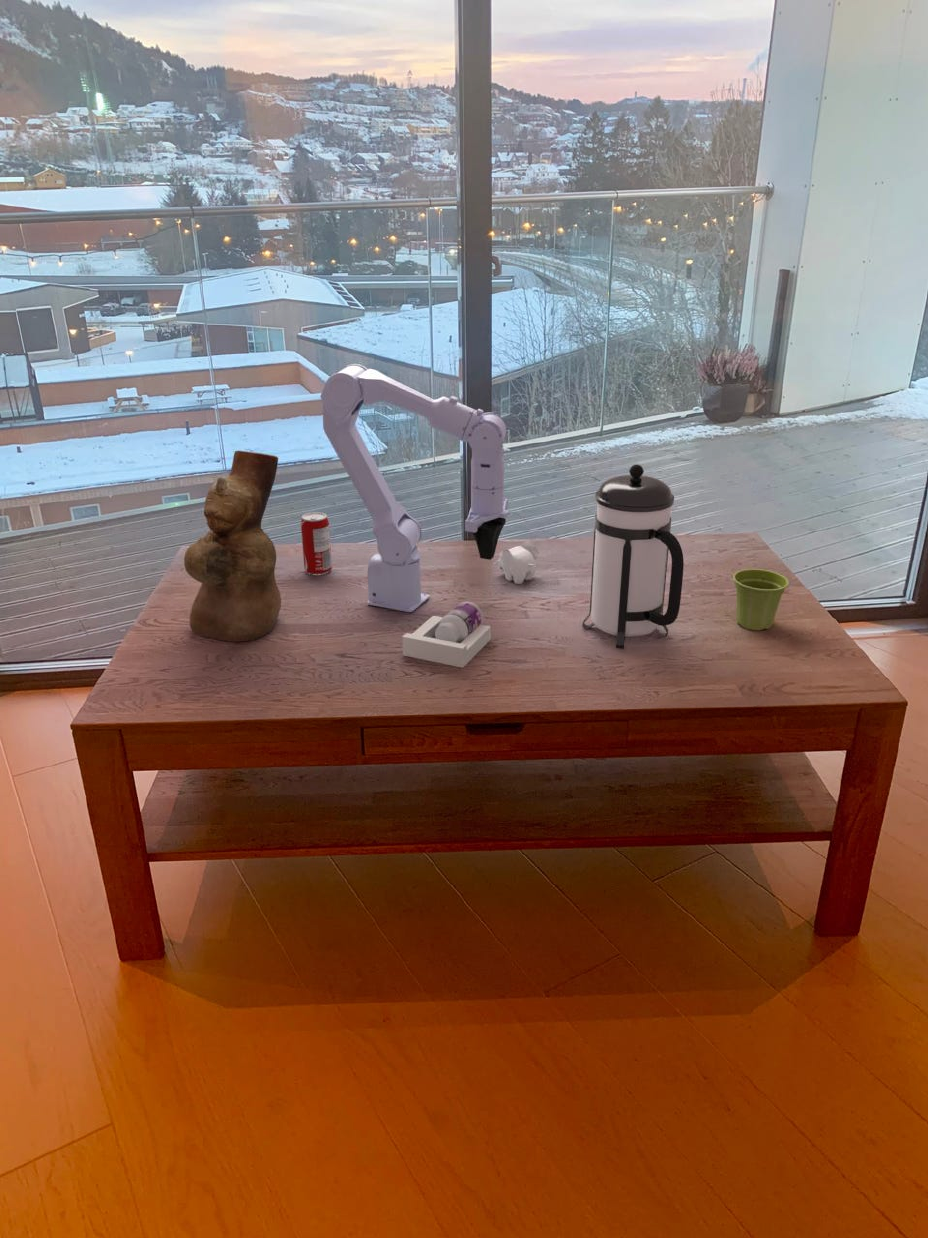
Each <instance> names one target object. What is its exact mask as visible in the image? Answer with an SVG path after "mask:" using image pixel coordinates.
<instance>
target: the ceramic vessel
mask: <svg viewBox="0 0 928 1238" xmlns="http://www.w3.org/2000/svg"><path fill="white" fill-rule="evenodd" d="M278 465H279V457H278V456H277V455H274V454H267V453H263V452H262V453H261V452H254V451H246V450H235V451H234V453H233V457H232V465H231V468H230V472H229V474H228V476H227V477H222V476H219V477H218V478H217V480H216V482H214V483H213V484H212V485H211V486H210V487H209V490H208V492H207V495H206V497H205V500H204V507H203V508H204V509H203V515H204V517H205V518H206V525H207V526H208V528H209V530H208V532H207V533H206V535H205V536H202V537H201V538H199V539H197V540H196V541H195V542H193V543H192V544H190V545H189V546H188V548H187V549H186V551H185V554H184V558H183V561H184V562H183V563H184V568H185V571H186V573H187V574H188V575H189V576H190V577H191V578H192V579H194V580H195V581H197V582H200V583H201V585H200V587H199V589H198V591H197V594H196V596H195V598H194V601H193V603H192V606H191V610H190V614H189V628H190V630H191V631H192V632H193V633H194V634H198V635H200V636H203V637H206V638H209V639H214V640H218V641H225V642H233V643H235V642H249V641H254V640H255V641H256V640H258V639H260V638H263V637H265V636H267V635H268V634H269V633H271V631H272V630H273V629H274V627H275V625H276V622H277V619H278V617H279V614H280V611H281V608H282V597H281V593H280V590H279V587H278V585H277V579H276V575H275V569H276V566H277V550H276V548H275V544H274V542H273V541H272V540H271V538H270V537H269V536H268V534H266V532H264V530H263V529H262V520H263V516H264V513H265V511H266V508H267V504H268V501H269V499H270V496H271V492H272V490H273V486H274V483H275V479H276V476H277V475H276V474H277V470H278Z"/></svg>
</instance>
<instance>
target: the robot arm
mask: <svg viewBox="0 0 928 1238" xmlns="http://www.w3.org/2000/svg"><path fill="white" fill-rule="evenodd" d="M322 388H323V389H322V391H321V394H320V398H321V402H322V429H323V430H324V434H325V435H326V438H328V441H329V443H330V444H331V446H332V448H333V449H334V451H335V454H336V455H337V457H338V458H339V461H340V462H341V464H342V466H343V468H344V470H345V472H346V473H347V475H348V477H349V479H350V480H351V482H352V485H353V486H354V488H355V490H356V491H357V493H358V495H359V497H360V498H361V500H362V502H363V503H364V506H365V507H366V510H367V511H368V513H369V514H370V517H371V520H372V533H373V535H374V537H375V539H376V542H377V545H376V546H377V551H378V552H377V553H375V554H374V555H372V557H371V559H369V560H370V561H369V562H368V565H367V585H368V587H367V588H368V589H367V590H368V601H367V602H366V604H367V605H369V606H374V607H375V606H376V607H379V608H385V609H390V610H396V611H401V612H405V613H406V612H407V613H412V612H414V611H415V610H416V609H417V608H419V607H420V606H421V605H423V604H424V603H425V602H426V601H427V600H429V598H430V597H431V595H430V594H427V593H422V584H421V583H422V582H421V576H422V575H421V553H420V552H419V549H418V548H417V544H419V543H420V541H421V540H422V536H423V535H422V533H423V532H422V527H421V525H420V522H418V521H417V519H415V518H414V517H412V516H411V515H410V514H409V513H408V511H407V509H406V508H405V506H403V505H401V504H400V503H398V502H397V500H396V499H395V496H394V495H393V492H392V491H391V490H390V487H389V485H388V483H387V482H386V479H385V478H384V476H383V475H382V472H381V471H380V469H379V467H378V466H377V463H376V462H375V461H376V460H375V459H374V458H373V456H372V454H371V452H370V450H369V449H368V447H367V444H366V443H365V441H364V440H363V437H362V435H361V434H360V432H359V430H358V428H357V425H356V422H357V420H358V416H359V414H360V412H361V411H360V410H361V408H362V406H367V405H372V404H376V403H381V402H382V403H383V402H385V403H388V404H390V405H391V406H395V407H398V408H400V409H402V410H405V411H408V412H410V413H413V414H416V415H419V416H421V417H424V418H426V420H427V421H428V423H429V426H430V427H431V429H434V430H436V431H438V432H441V433H443V434H445V435H447V436H450V437H452V438H454V439H456V440H459V441H462V442H464V443H468V445H469V447H470V449H471V460H470V464H471V465H470V477H471V478H470V481H471V482H470V500H471V502H470V509H469V512H468V515H467V518H466V519H465V520H464V532H468V533H472V535H473V537H474V540H475V542H476V547H477V549H478V554H479V558H480V559H484V560H492V559H494V556H495V553H496V549H497V545H498V542H499V537H500V535H501V532H502V530H503V528H504V526H505V525H506V522H507V521H506V520H507V517H508V516H509V515H510V510H508V509H509V498H505V496H504V493H505V492H504V489H505V488H504V487H505V485H504V483H505V482H504V481H505V478H504V477H505V459H504V454H505V453H504V452H505V450H504V444H503V442H504V439H505V438H506V435H507V426H506V423H505V421H504V420H503V419H502V418H501V417H500V416H499V415H497V414H496V413H495V412H491V411H490V412H489V411H487V412H484V410H483V409H481V408H478V409H475V408H472V407H469V406H468V405H465V404H463V403H460V402H458V401H459V397H456V396H454V395H451V396H450V397H447V396H441V397H439V398H437V399H433V398H432V397H430V396H427V395H426V394H423V393H422V392H419V391H417V390H415V389H413V388H411V387H409V386H407V385H405V384H403V383H401V382H399V381H397V380H395V379H394V378H391V377H389V376H388V375H385V374H384V373H381V371H379V370H377V369H372V368H367V367H366V366H364V365H363V364H358V363H352V364H348V365H346V366H344V368H342V369H341V370H340V371H338V372H336V373H334V374H332V375H330V376H329V377H328V378H327V380H326V381H325V383H324V387H322Z"/></svg>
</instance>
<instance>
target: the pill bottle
mask: <svg viewBox="0 0 928 1238" xmlns="http://www.w3.org/2000/svg"><path fill="white" fill-rule="evenodd" d="M483 621H484V614H483V612H482V609H481V608H480V607H479V606H478V605H477V604H476V603H474V602H471V601H463V602H460V603H459V604H458V605H456V606H455V607H454V608H453V609H452V610H450V611H449V612H448V613H447V614H445V616H443V618H442V619H441V621H440V623H439V627H438V628H437V629H436V631H435V637H436V639H440V640H445V641H450V642H455V643H461V642H462V641H463V640H464V639H465V638H467V637H468V636H469V635H470V634H471V633H472V632H473V631H474V630H475V629H476V628H477V627H478V626H479V625H480V624H481V625H483V624H482V623H483Z"/></svg>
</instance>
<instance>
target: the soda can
mask: <svg viewBox="0 0 928 1238" xmlns="http://www.w3.org/2000/svg"><path fill="white" fill-rule="evenodd" d="M328 519H329V518H328V515H327V514H326V513H324V512H318V511H316V512H315V511H314V512H313V511H312V512H308V513H304V514H303V515H302V516H301V520H300V521H301V522H300V531H301V532H300V533H301V541H302V554H303V568H304V571H305V572H306V573H307V574H308V573H310V574H317V575H316V576H319V575H318V574H324V575H326V574H325V573H327V572H329V571H330V572H331V571H332V568H333V562H332V561H333V560H332V550H331V533H330V522H329V520H328ZM330 572H329V573H330ZM310 574H309V575H310ZM327 574H328V573H327Z"/></svg>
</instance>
